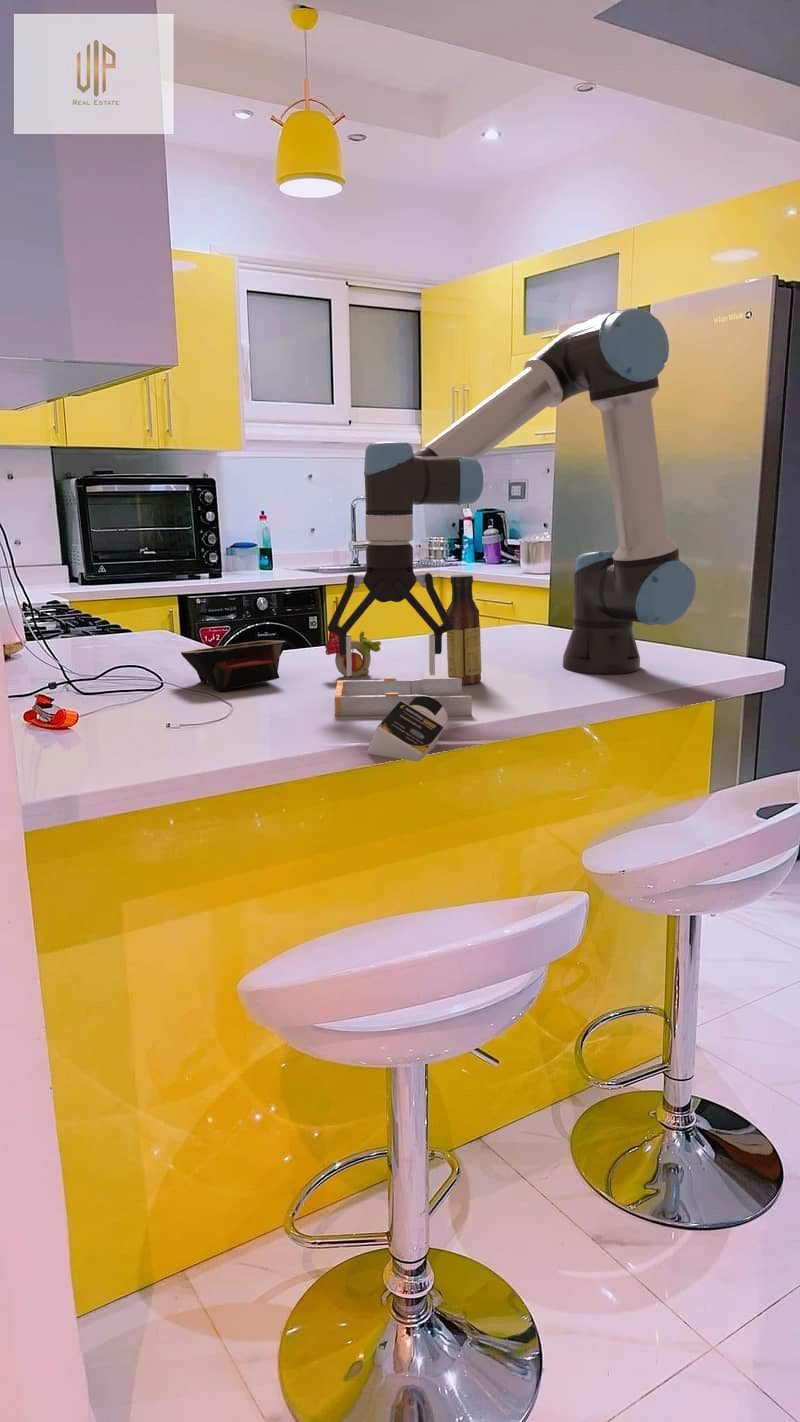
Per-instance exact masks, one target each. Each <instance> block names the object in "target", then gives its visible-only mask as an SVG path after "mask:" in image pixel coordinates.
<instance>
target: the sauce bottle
mask: <svg viewBox="0 0 800 1422" xmlns="http://www.w3.org/2000/svg"><path fill="white" fill-rule="evenodd" d="M473 577H474V576H473V575H472V574H454V575H450V584H451V602H450V604H449V606H447V609H446V613H447V615H448V617H449V619H450V621H451V623H452V625H453V629H452V630H451V631H447V632H446V650H447V652H446V654H447V655H446V656H447V676H448V678H462V686H466V685H469V686H470V685H477V684H479V683H480V682H481V680H482V676H481V675H482V649H481V648H482V647H481V645H482V643H481V624H480V610H479V609H478V606H477V605H476V602H475V600H474V596H473V583H474V578H473Z"/></svg>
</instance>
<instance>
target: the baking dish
mask: <svg viewBox="0 0 800 1422" xmlns="http://www.w3.org/2000/svg"><path fill="white" fill-rule="evenodd" d="M287 645H288V642H287V641H286V640H257V641H249V642H248V641H247V642H241V643H237V644H228V645H220V646H214V647H213V646H212V647H205V648H198V649H192V650H186V651H181V652H180V654H181V656H182V657H183V658H184V659H185V660H186V661H187V663H188V664H189V665H190V666H191V667H192V668H193V669H194V670H195V671H196V674H197V675H198V678H199V681H200V682H203V683H204V682H205V683H207V684H209V685H210V686H211V688H212V689H214V690H216V691H218V692H221V691H227V690H233V689H238V688H241V687H246V686H247V687H248V686H250V685H256V684H260V683H264V682H269V681H274V680H277V679H280V676H279V675H280V674H279V673H278V670H279V664H280V658H281V655H282V653H283V651H284V650H285V648H286V646H287Z"/></svg>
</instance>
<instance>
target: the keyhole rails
mask: <svg viewBox="0 0 800 1422" xmlns="http://www.w3.org/2000/svg"><path fill="white" fill-rule="evenodd" d="M418 696H428V697H431V698H433V699H435V700H437V701H438V702H439V703H440V704H441V705H442V706H443V707H444V709H445V711H446V713H447V717H464V716H465V717H466V716H468V717H469V716H473V712H472V711H473V700H472V699H473V696H472V695H463V685H462V678H449V677H421V678H417V679H397V678H396V677H395V676H394V677H383V679H369V680H368V679H356V680H355V679H353V680H352V679H349V680H348V679H347V680H344V679H343V680H337V682H336V688H335V693H334V716H335V717H337V716H338V717H342V716H343V717H345V716H347V717H348V716H349V717H352V716H353V717H354V716H387V715H388V714H389V713H390V712H391V711H392V710H393V709H394V707H395V706H396V705H397V704H398V703H399V702H400V701H403V702H405V703H406V704H408V705H409V704H410V702H411V701H412V700H413V699H414V698H416V697H418Z"/></svg>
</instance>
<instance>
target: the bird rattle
mask: <svg viewBox="0 0 800 1422" xmlns="http://www.w3.org/2000/svg"><path fill="white" fill-rule="evenodd" d="M328 632H329V631H328ZM381 645H382V642H381V641H380V640H379V641H378V640H376V641H371V640H370V639H368V638H367V637H365V631H360V633H359V640H351V661H352V676H354V677H360V675H361V676H362V675H369V673H370V670H369V667H370V665H371V659H372V658H371V657H372V656H371V651H372V652H375V653H377V652H380V650H381V647H380V646H381ZM324 647H325V649H326V650H325V654H326V655H328V656H330V655H334V654H335V661H334V662H335V667H336V669H337V671H338V672H339V673H340V674H341V675H342V676H344V677H346V678H350V677H349V676H347V660H346V655H340V653H339V636H338V635H337V634H335V633H333V632H329V633H328V640H327V642H326V643H325V646H324ZM354 650H356V651H357V652H354Z"/></svg>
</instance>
